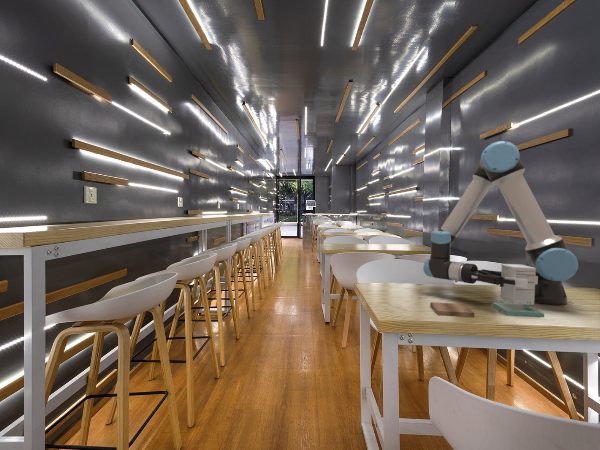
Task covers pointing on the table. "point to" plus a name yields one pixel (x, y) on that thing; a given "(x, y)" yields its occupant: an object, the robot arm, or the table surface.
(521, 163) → the robot arm
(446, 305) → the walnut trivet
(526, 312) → the plate
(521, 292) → the supplement box
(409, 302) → the table surface
